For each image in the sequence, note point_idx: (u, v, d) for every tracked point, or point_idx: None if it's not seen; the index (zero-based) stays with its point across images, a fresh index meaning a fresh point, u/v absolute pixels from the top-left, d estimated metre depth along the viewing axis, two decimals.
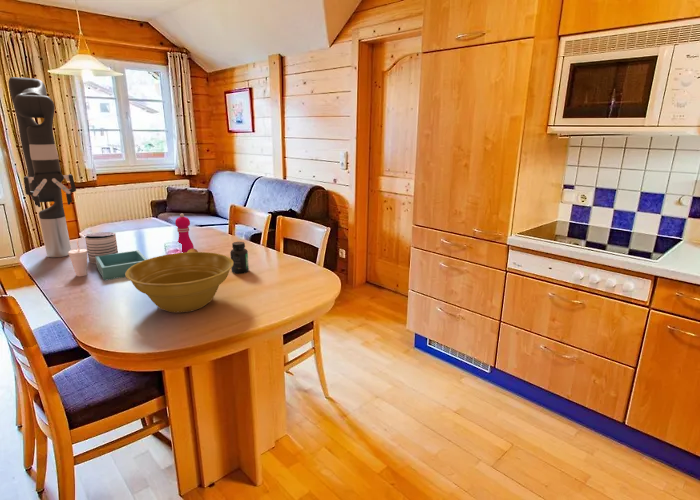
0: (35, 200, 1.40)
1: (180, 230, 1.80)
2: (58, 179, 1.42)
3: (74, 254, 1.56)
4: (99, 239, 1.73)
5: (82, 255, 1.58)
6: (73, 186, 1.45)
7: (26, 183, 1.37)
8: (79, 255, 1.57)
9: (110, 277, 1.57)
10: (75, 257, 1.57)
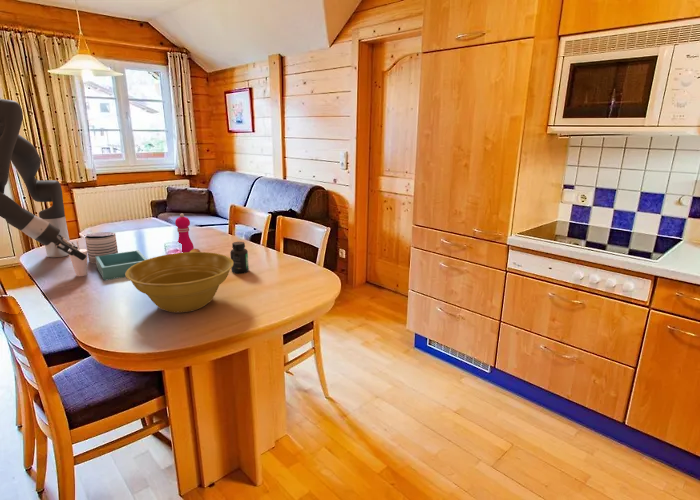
0: None
1: (180, 230, 1.80)
2: None
3: None
4: (99, 239, 1.73)
5: None
6: (67, 252, 1.52)
7: None
8: None
9: (110, 277, 1.57)
10: (75, 257, 1.57)
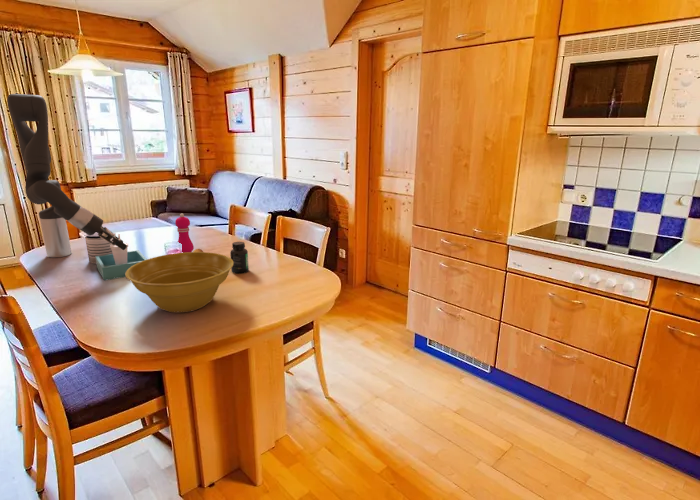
0: None
1: (180, 230, 1.80)
2: None
3: (116, 247, 1.62)
4: (99, 239, 1.73)
5: None
6: (110, 242, 1.57)
7: None
8: (121, 249, 1.63)
9: (110, 277, 1.57)
10: (117, 250, 1.63)
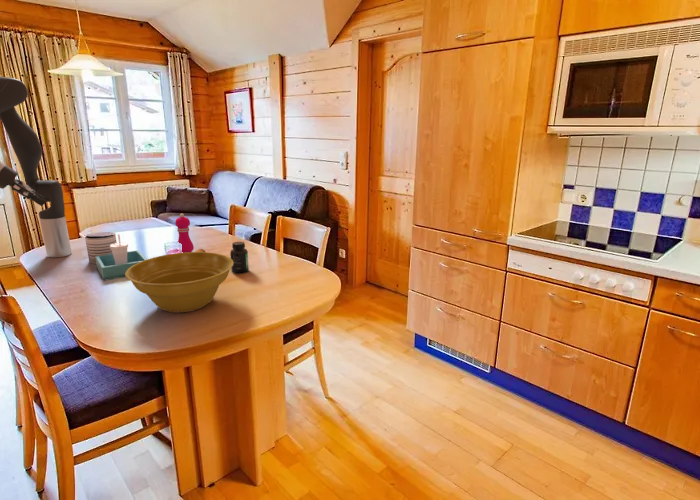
0: None
1: (180, 230, 1.80)
2: None
3: (116, 248, 1.62)
4: (99, 239, 1.73)
5: (123, 249, 1.64)
6: (23, 195, 1.43)
7: None
8: (120, 249, 1.63)
9: (110, 277, 1.57)
10: (117, 251, 1.63)
